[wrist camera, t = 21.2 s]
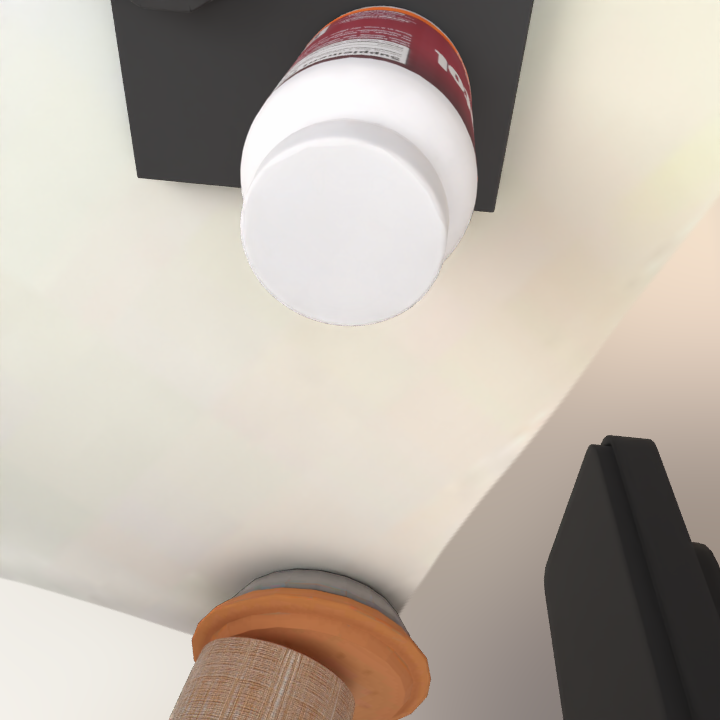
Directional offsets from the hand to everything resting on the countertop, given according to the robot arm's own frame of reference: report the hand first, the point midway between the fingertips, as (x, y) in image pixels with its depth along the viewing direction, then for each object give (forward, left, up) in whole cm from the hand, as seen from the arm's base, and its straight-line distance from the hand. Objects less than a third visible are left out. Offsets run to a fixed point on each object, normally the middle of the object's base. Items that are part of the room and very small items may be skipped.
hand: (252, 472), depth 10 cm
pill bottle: (0, 0, -18) cm, 18 cm away
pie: (-1, -35, -20) cm, 40 cm away
